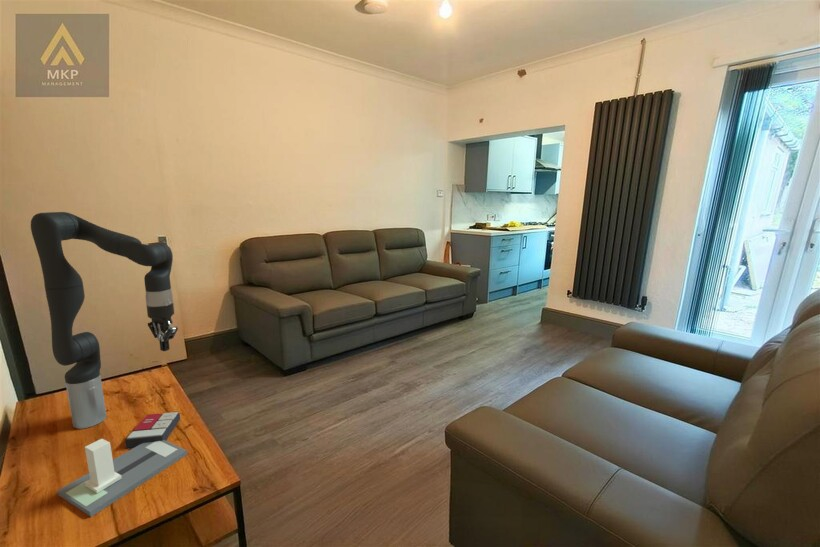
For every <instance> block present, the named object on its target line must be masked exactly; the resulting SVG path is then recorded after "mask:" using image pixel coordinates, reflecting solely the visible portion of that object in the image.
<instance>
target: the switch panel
mask: <svg viewBox="0 0 820 547" xmlns="http://www.w3.org/2000/svg"><path fill="white" fill-rule="evenodd" d="M187 455H188V450H187V449H185V448H182V447H181V446H178V445H176V444H174V443H172V442H169V441H168V440H166V441H165V440H163V441H156V442H146V443H142V444H140V445H138V446H136V447H135V448H130V449H129V450H127V451H125V452H124V453H122V454H120V455H119V456H117V457H115V458H112V459H113V465H114V472H116V473H118V474H120V475H121V477H122V478H121V479H120V480H118V481H116V482H115V483H113V484H112V485H110V486H108V487H107V488H105V489H103V490H102V491H100V492H98V493H96V492H94V491H92V490H91V489H89V488H88V487H86V486H85V484H84V483H85V482H86V481H88V480H90V475H89V472H87V473H86V474H85V475H82V476H80V477H79V478H77V479H75V480H74V481H72V482H71V483H70V482H69V483H68V484H67V485H65V486H63V487H61V488H60V489H59V488H58V490H57V492H56V493H57V496H58V497H61V498H62V499H64V500H65V501H66V502H68V503H69V504H70V505H72V506H74V507H75V508H77V509H78V510H80V511H81V512H83V513H84V514H85V515H87V516H89V517H90V518H92V517H93V516H95V515H97V514H98V513H100V512H101V511H103V510H104V509H106V508H107V507H109V506H111V505H112V504H114V503H115V502H117V501H118V500H119V499H121V498H123V497H124V496H126V495H127V494H129V493H131V492H132V491H134V490H135V489H137V488H138V487H139V486H142V484H144V483H146V482H147V481H148V480H150V479H152V478H153V477H155V476H157V475H158V474H160V473H161V472H163V471H165V470H167V468H168V467H170V466H172V465H174V464H175V463H177V462H178V461H180V460H181V459H183V458H184V457H185V456H187Z"/></svg>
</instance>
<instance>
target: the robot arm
mask: <svg viewBox="0 0 820 547" xmlns="http://www.w3.org/2000/svg"><path fill="white" fill-rule="evenodd" d="M30 231H31V235H32V239H33V242H34V244H35V248H36V251H37V254H38V257H39V262H40V267H41V271H42V276H43V284H44V289H45V290H44V291H45V295H46V301H47V306H48V312H49V318H50V328H51V329H50V330H51V348H52V350H51V351H52V353H53V357H54V359H55V361H56V362H57V364H59V365H61V366H64V367H65V366H71V365H73V364H74V365H73V366H72V367H70V369H69V370H67V371H66V372H65V374H64V383H65V387H66V391H67V392H66V393H67V399H68V403H69V409H70V410H69V411H70V414H71V421H72V426H73V428H75V429H87V428H92V427H95V426H97V425H99V424H100V423H102V422H104V421H105V420H106V419H107V410H106V403H105V398H104V390H103V383H102V377H101V368H102V361H101V359H102V358H101V348H100V347H101V346H100V343H99V339H98V338H97V336H96V335H95V334H94V333H93V332H90V331H83V332H80V333H76V334H73V326H74V322H75V319H76V317H77V316H78V313H79V312H80V310H81V308H82V306H83V304H84V301H85V288H84V283H83V279H82V277H81V275H80V274H79V272H78V271H77V270H76V269H75V268H74V267H73V266H72V265H71V264H70V262H68V260H67V258H66V257H65V253H64V250H63V245H62V242H63V241H68V240H81V241H87V242H90V243H93V244H94V245H96V246H97V247H98V248H99V249H101V250H103V251H105V252H106V253H110V254H113V255H117V256H120V257H123V258H127V259H128V260H130V261H131V262H134V263H136V264H137V265H140V266H143V267H150V270H149V271H148V272H147V273H146V274H145V275H144V288H145V306H146V314H147V317H148V318H149V319H151V321H150V322H147V326H148V328H149V330H150V331H151V334H152V335H153V338H155V339H157V341H159V349H160V351H162V352H167V351H169V350H170V349H171V348H170V340H172V339H174V337H175V335H176V334H177V331H178V330H179V329H178V326H174V325H173V320H172V317H173V315H175V304H174V295H173V292H172V286H171V278H170V276H171V272H172V266H173V260H174V259H173V257H174V256H173V252H172V249H171V247H170V246H169V245H168V244H166V243H164V242H155V243H150V244H145V243H142V241H141V240H140V239H139V238H137V237H134V236H131V235H127V234H125V233H120V232H117V231H114V230H110V229H107V228H105V227H102V226H100V225H97V224H94V223H92V222H91V221H88V220H87V219H84V218H81V217H80V216H78V215H75V214H72V213H71V212H67V211H66V212H65V211H56V212H55V211H52V212H49V211H48V212H38V213H36V214H35V215H33V216H32V218H31V221H30Z"/></svg>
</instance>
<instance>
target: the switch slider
mask: <svg viewBox="0 0 820 547" xmlns="http://www.w3.org/2000/svg"><path fill="white" fill-rule="evenodd" d="M84 452H85V457H86V461H87V468H88V473H89V475H90V480H88V481H86V482H85V483H84V484H85V486H86V487H88V488H89V489H91V490H92V491H94V492H96V493H98V492H100V491H102V490H103V489H105V488H107V487H108V486H110V485H112V484H113V483H115V482H116V481H118V480H120V479H121V478H122V477H121V475H120V474H118V473H116V472H114V465H113V459H114V458H113V452H112V446H111V442H110V441H108V440H106V439H104V438H100V439H98V440H95V441H94V442H92V443H90V444H88V445H86V446H84Z"/></svg>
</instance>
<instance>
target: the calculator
mask: <svg viewBox="0 0 820 547" xmlns="http://www.w3.org/2000/svg"><path fill="white" fill-rule="evenodd" d="M180 421H181V413H180V412H179V411H174V412H173V411H172V412H164V413H161V412H160V413H152V414H146V415H145V416H144V418H143V419H142V420H141V421H140V422H139V423H138V425H137V426H136V427H135V428H134V429H133V430H132V431H131V433H129V435H128V436H127V437H126V438H125V439H124V441H125V449H127V450H128V449H129V450H131V449H133V448H135V447H136V446H138V445H140V444H142V443H146V442H156V441H163V440H165V441H168V438H169V437H170V435H171V434H172V432H173V431H174V429H175V427H176V426H177V425H178V423H179V422H180Z"/></svg>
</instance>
